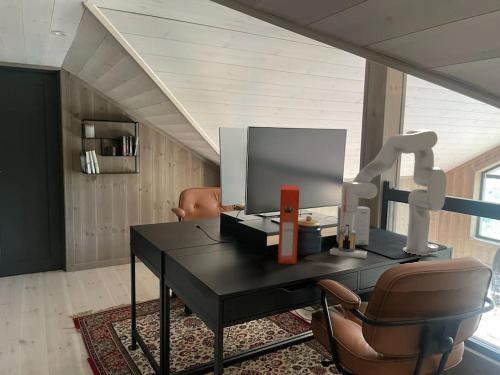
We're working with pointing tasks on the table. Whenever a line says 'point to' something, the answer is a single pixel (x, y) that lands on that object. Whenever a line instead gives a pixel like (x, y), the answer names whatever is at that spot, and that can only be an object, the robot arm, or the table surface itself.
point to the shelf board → (348, 253)
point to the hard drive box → (358, 225)
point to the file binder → (288, 224)
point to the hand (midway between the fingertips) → (346, 246)
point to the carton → (352, 241)
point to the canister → (308, 236)
